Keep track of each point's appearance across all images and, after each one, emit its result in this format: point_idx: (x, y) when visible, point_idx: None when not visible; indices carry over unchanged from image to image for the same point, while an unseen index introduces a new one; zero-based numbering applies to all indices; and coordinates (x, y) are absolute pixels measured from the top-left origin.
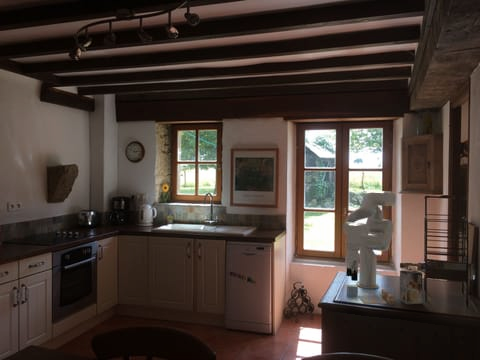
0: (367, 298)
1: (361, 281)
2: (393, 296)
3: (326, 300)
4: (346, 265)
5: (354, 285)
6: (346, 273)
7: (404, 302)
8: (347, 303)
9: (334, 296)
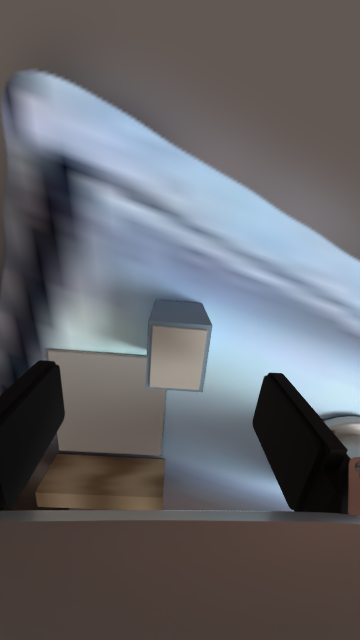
0: (122, 391)
1: (350, 455)
2: (41, 506)
3: (71, 97)
4: (247, 556)
5: (180, 377)
6: (294, 389)
7: (82, 508)
8: (31, 250)
9: (169, 205)
